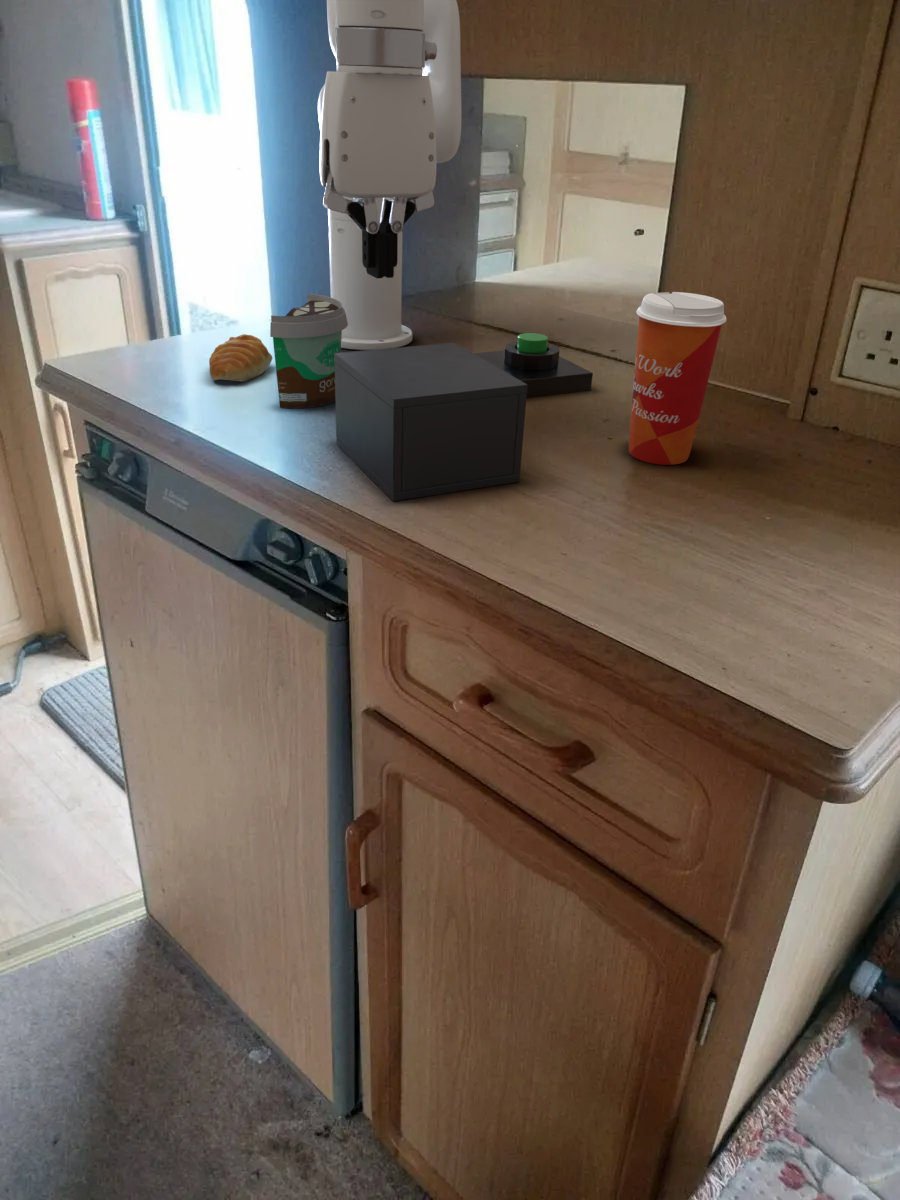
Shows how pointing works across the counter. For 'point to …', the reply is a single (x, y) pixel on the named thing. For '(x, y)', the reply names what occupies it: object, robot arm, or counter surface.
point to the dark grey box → (429, 419)
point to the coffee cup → (672, 373)
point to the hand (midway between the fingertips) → (379, 275)
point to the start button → (532, 343)
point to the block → (541, 370)
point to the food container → (308, 351)
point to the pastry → (239, 359)
